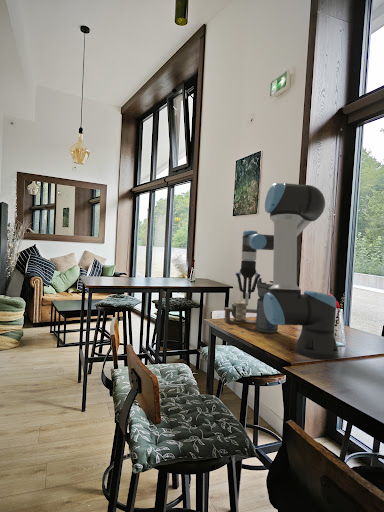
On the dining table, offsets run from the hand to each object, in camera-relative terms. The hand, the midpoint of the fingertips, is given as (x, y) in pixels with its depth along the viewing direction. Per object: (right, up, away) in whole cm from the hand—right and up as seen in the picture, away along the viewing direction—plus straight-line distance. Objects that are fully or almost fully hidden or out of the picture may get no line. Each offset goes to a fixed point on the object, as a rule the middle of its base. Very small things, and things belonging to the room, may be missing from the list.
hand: (246, 305), depth 180 cm
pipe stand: (0, -9, 0) cm, 9 cm away
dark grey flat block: (-7, -5, 0) cm, 9 cm away
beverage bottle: (+8, -10, -17) cm, 22 cm away
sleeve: (-4, -7, 0) cm, 8 cm away
